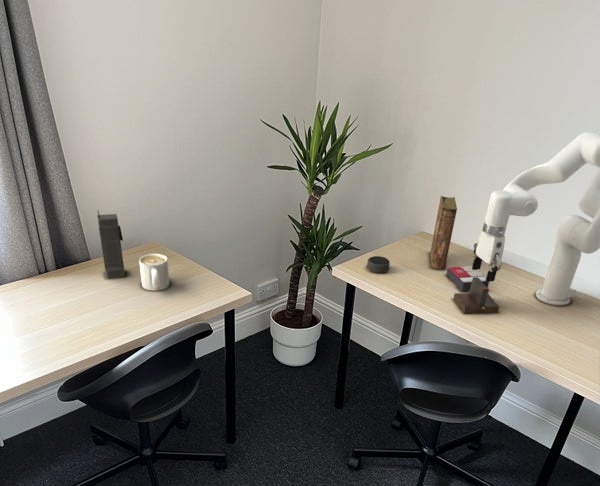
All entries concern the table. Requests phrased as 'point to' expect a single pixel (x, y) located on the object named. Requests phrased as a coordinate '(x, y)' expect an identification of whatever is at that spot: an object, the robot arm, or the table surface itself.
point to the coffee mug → (154, 272)
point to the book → (443, 232)
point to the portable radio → (111, 245)
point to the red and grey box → (464, 277)
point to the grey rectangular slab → (478, 291)
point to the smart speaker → (378, 264)
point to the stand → (475, 304)
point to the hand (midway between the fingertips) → (482, 275)
